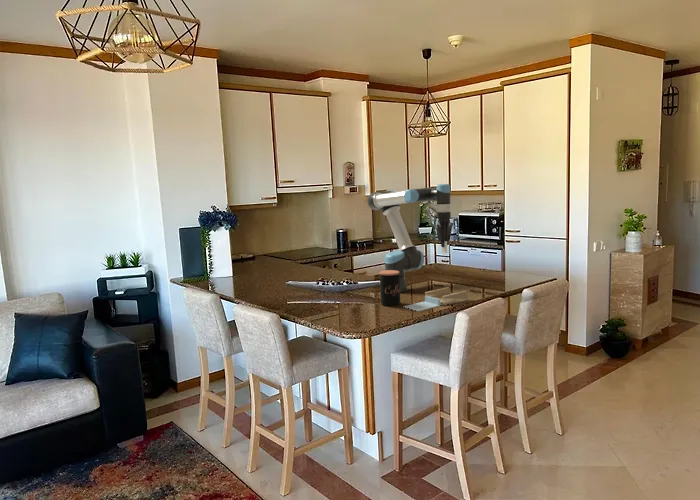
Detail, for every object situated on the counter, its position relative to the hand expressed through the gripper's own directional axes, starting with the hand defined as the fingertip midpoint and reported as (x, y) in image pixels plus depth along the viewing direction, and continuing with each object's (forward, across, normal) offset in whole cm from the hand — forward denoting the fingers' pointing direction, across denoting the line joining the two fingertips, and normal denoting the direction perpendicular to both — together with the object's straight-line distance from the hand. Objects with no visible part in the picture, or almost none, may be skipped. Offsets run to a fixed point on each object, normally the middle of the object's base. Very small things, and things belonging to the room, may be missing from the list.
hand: (444, 252), depth 307 cm
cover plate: (+25, -29, -12) cm, 40 cm away
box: (+24, -11, -12) cm, 29 cm away
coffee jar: (+25, -38, +4) cm, 45 cm away
